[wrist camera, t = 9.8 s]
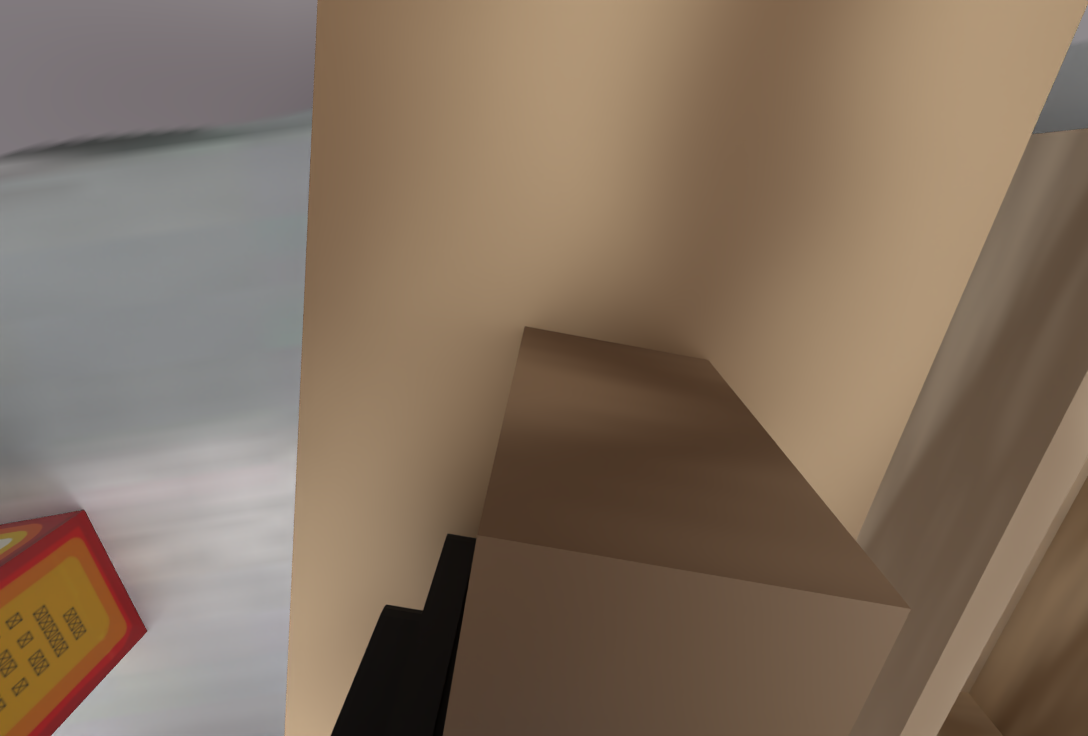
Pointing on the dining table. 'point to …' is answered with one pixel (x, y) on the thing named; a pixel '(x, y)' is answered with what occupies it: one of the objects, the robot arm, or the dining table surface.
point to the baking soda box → (57, 620)
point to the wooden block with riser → (635, 338)
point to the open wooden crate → (997, 484)
